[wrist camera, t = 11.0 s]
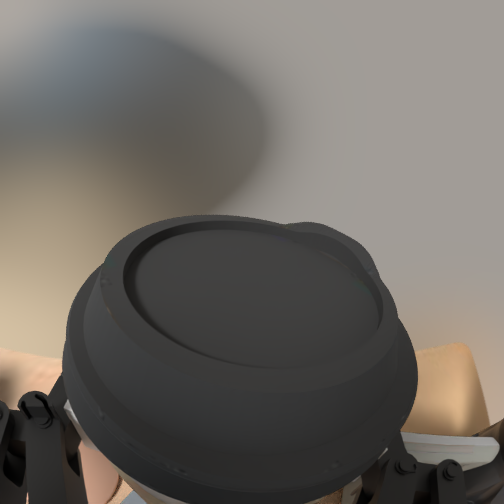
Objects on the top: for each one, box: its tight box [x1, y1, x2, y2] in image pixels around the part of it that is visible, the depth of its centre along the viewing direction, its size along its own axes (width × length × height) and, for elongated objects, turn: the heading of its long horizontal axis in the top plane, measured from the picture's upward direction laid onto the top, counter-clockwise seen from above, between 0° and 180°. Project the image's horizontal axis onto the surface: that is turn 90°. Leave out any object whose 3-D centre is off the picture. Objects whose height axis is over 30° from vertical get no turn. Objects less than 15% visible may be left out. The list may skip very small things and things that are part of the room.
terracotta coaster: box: [27, 440, 119, 504], centre depth 19 cm, size 12×12×1 cm
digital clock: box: [341, 432, 500, 504], centre depth 20 cm, size 16×9×11 cm, turn 62°
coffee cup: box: [62, 215, 418, 504], centre depth 10 cm, size 9×9×15 cm
